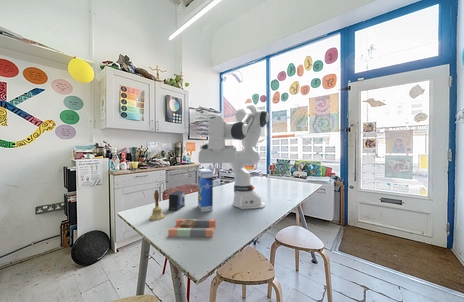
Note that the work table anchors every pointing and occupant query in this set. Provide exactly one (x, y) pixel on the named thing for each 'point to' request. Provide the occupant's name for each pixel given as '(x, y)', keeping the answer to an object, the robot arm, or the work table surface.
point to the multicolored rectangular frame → (194, 231)
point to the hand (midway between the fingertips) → (217, 171)
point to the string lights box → (205, 190)
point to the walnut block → (188, 224)
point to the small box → (176, 200)
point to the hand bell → (156, 209)
